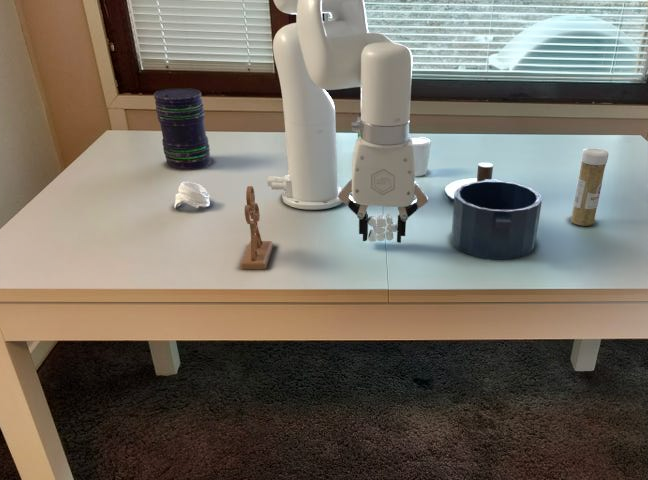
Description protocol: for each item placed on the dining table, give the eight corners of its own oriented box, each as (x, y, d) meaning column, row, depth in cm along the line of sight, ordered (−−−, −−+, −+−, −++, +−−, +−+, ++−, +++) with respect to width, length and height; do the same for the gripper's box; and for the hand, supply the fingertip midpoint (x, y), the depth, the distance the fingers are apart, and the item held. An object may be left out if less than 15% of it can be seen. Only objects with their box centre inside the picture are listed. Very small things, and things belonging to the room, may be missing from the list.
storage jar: (192, 153, 151) (181, 85, 143) (220, 162, 147) (211, 92, 138) (156, 164, 145) (143, 93, 136) (185, 173, 140) (173, 101, 132)
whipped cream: (179, 202, 128) (172, 178, 126) (213, 198, 129) (207, 174, 127) (173, 215, 122) (166, 189, 119) (209, 210, 122) (203, 185, 120)
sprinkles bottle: (593, 228, 120) (608, 156, 113) (568, 224, 121) (581, 153, 114) (595, 219, 124) (609, 148, 116) (570, 216, 125) (583, 145, 117)
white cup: (426, 178, 141) (428, 146, 137) (396, 175, 142) (396, 143, 138) (431, 168, 146) (433, 137, 142) (402, 166, 147) (402, 134, 143)
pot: (454, 265, 106) (458, 216, 101) (449, 218, 123) (452, 174, 118) (543, 268, 106) (551, 219, 101) (525, 220, 123) (532, 176, 118)
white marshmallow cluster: (367, 241, 110) (368, 217, 108) (367, 238, 112) (367, 214, 109) (396, 241, 111) (397, 217, 108) (396, 238, 112) (397, 214, 109)
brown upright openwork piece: (250, 245, 111) (242, 177, 104) (273, 245, 111) (266, 177, 104) (240, 269, 103) (231, 197, 97) (265, 269, 103) (257, 197, 97)
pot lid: (446, 209, 126) (448, 176, 122) (443, 182, 139) (445, 151, 135) (525, 212, 126) (530, 179, 122) (515, 184, 139) (519, 153, 135)
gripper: (327, 136, 97) (330, 246, 108) (440, 141, 97) (432, 250, 108) (332, 122, 103) (334, 227, 114) (439, 126, 103) (431, 231, 114)
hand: (382, 237), depth 111 cm, fingers closed on white marshmallow cluster, 5 cm apart
